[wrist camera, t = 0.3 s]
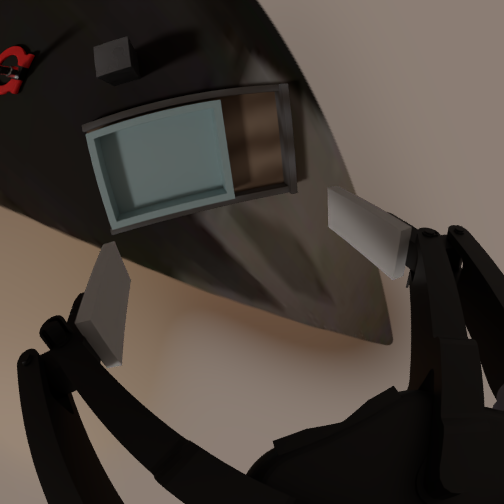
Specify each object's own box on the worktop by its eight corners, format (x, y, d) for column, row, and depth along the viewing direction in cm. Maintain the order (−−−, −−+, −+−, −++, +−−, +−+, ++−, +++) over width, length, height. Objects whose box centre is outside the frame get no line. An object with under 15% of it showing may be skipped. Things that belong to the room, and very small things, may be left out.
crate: (93, 132, 31) (85, 134, 27) (215, 101, 34) (220, 99, 30) (116, 219, 38) (112, 230, 34) (229, 191, 41) (235, 198, 38)
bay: (87, 124, 30) (79, 125, 27) (277, 85, 36) (287, 83, 32) (115, 227, 39) (110, 237, 36) (287, 186, 45) (297, 192, 41)
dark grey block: (111, 62, 27) (93, 47, 19) (137, 54, 28) (127, 36, 19) (114, 86, 29) (96, 77, 21) (140, 78, 30) (130, 66, 21)
